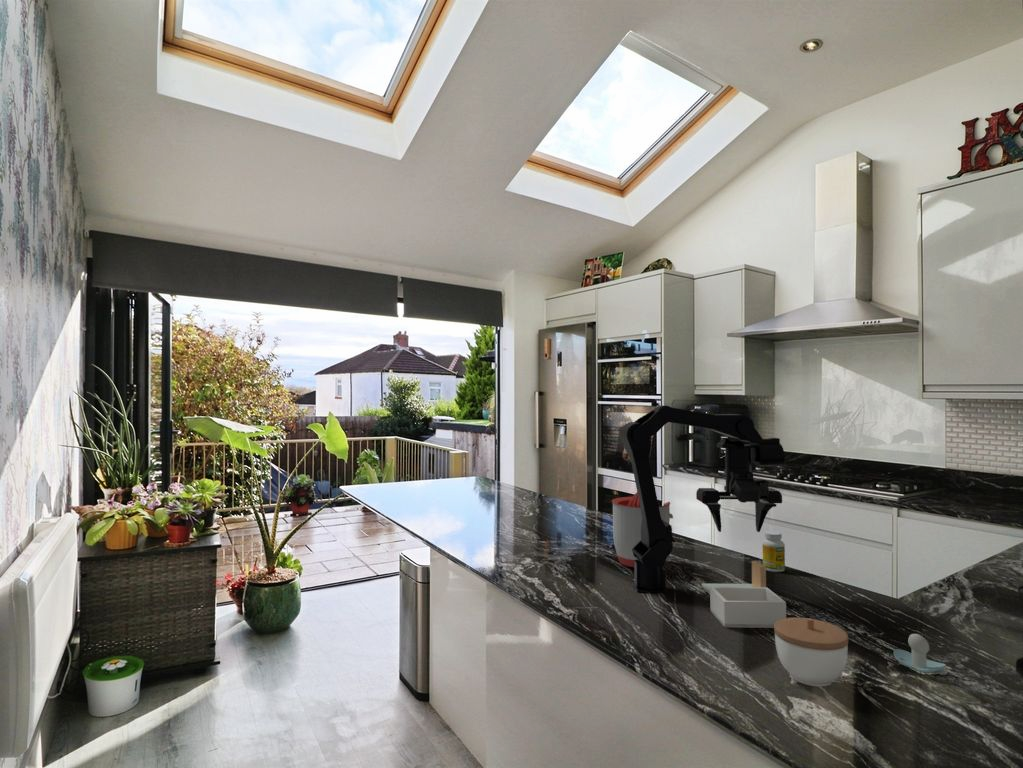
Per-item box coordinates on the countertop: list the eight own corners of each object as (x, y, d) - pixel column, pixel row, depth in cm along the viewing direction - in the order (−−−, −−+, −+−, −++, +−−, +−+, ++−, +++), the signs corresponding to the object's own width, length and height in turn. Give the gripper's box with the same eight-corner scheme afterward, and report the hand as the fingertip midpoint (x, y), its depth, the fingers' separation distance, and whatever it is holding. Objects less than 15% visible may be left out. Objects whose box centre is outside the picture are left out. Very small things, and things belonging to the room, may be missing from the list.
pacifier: (906, 658, 102) (889, 666, 99) (906, 622, 103) (889, 628, 99) (955, 675, 96) (939, 684, 93) (955, 636, 96) (938, 643, 93)
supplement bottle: (770, 565, 158) (770, 529, 158) (789, 570, 154) (788, 533, 154) (758, 568, 155) (758, 532, 155) (777, 573, 151) (776, 536, 151)
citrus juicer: (688, 567, 156) (687, 492, 157) (632, 575, 150) (632, 496, 150) (653, 553, 171) (653, 484, 171) (601, 559, 164) (601, 487, 165)
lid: (714, 604, 128) (714, 569, 129) (702, 590, 138) (701, 557, 138) (772, 605, 128) (771, 569, 128) (755, 590, 137) (755, 558, 138)
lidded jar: (768, 682, 93) (768, 622, 94) (780, 657, 102) (780, 603, 103) (846, 701, 88) (845, 638, 88) (851, 673, 96) (850, 615, 97)
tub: (724, 627, 116) (724, 601, 116) (710, 610, 125) (710, 587, 125) (786, 627, 115) (785, 602, 115) (767, 611, 124) (767, 587, 124)
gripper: (709, 470, 134) (710, 539, 133) (792, 470, 133) (793, 539, 133) (695, 465, 145) (696, 528, 144) (771, 465, 144) (772, 528, 144)
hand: (738, 531), depth 141 cm, fingers open, 9 cm apart
